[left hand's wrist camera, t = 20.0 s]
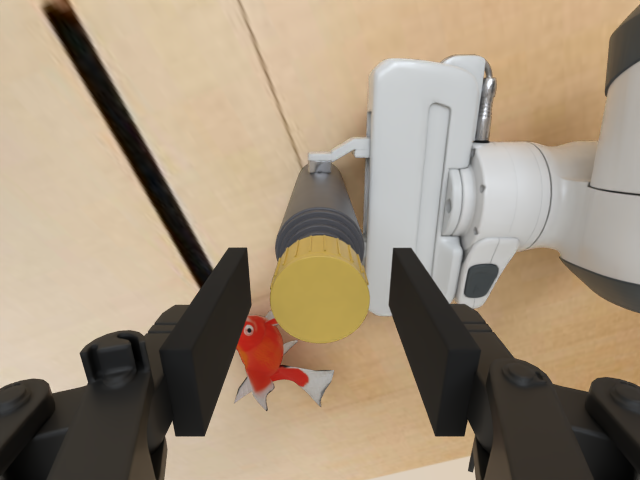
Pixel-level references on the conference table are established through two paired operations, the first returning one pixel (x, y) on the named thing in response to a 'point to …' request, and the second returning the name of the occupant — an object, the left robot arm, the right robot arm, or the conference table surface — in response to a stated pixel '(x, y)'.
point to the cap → (319, 290)
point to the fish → (273, 362)
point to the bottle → (320, 212)
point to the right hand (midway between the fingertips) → (308, 199)
